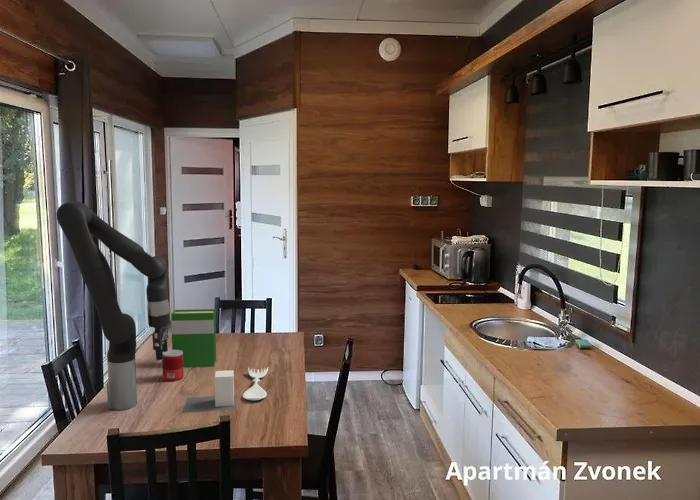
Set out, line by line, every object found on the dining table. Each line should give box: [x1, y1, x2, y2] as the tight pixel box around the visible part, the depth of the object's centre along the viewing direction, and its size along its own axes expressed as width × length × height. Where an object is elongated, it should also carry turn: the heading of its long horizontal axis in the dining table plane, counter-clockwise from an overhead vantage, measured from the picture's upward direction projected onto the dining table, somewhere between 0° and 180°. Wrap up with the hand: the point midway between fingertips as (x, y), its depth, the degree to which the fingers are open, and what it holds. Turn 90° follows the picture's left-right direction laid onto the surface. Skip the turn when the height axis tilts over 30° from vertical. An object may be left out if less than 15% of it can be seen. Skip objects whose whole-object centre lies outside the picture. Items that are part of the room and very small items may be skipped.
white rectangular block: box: [214, 369, 235, 407], centre depth 199 cm, size 6×6×11 cm
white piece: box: [242, 366, 269, 401], centre depth 215 cm, size 9×32×4 cm, turn 7°
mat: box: [182, 394, 237, 414], centre depth 199 cm, size 18×13×3 cm
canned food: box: [162, 349, 184, 382], centre depth 223 cm, size 8×8×11 cm
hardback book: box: [170, 308, 217, 369], centre depth 239 cm, size 18×7×24 cm, turn 98°
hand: (162, 355), depth 198 cm, fingers open, 8 cm apart
